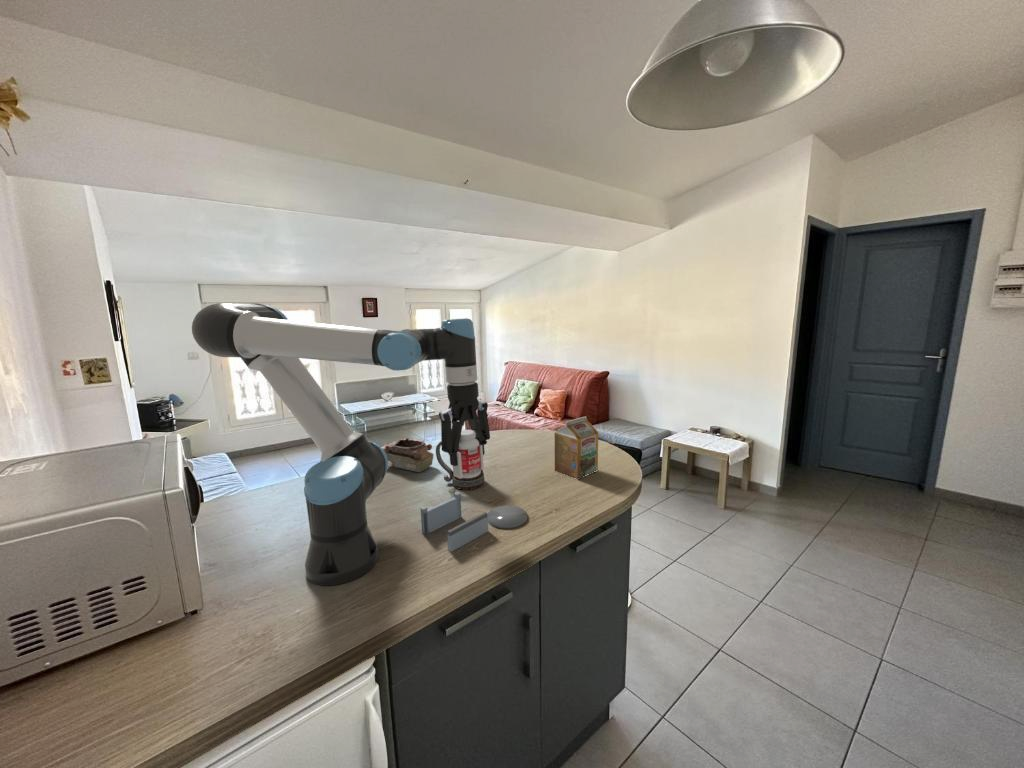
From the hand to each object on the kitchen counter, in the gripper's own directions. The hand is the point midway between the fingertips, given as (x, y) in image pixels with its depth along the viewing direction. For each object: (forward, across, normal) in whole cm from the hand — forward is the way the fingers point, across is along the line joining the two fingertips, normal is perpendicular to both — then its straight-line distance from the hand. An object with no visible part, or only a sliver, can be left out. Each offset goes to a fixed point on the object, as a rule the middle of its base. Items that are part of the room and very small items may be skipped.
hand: (469, 472), depth 100 cm
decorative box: (+15, +10, +51) cm, 54 cm away
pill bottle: (+1, 0, 0) cm, 1 cm away
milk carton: (+17, +49, +2) cm, 52 cm away
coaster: (+16, +10, -2) cm, 19 cm away
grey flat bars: (+16, -4, +2) cm, 16 cm away
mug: (+16, +15, +25) cm, 33 cm away
